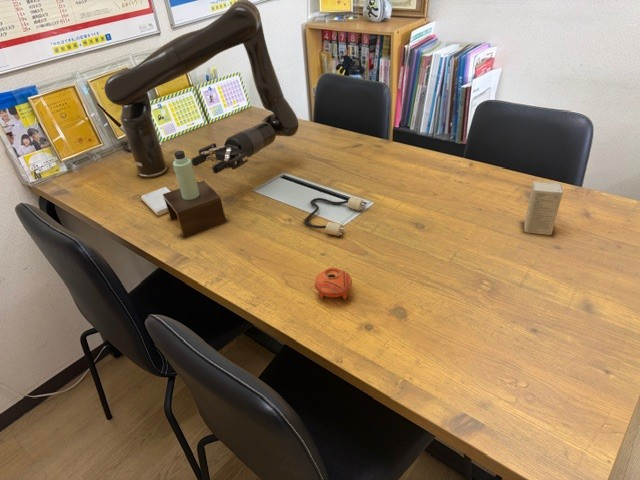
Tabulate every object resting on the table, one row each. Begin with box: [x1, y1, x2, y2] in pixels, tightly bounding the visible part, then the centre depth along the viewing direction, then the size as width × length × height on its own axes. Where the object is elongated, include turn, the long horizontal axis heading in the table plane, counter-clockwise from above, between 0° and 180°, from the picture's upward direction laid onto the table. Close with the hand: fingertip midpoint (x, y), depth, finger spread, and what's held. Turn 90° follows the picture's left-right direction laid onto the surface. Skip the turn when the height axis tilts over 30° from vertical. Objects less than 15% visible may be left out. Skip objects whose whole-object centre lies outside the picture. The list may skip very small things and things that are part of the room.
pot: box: [314, 267, 353, 301], centre depth 95 cm, size 8×8×7 cm
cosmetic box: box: [523, 181, 564, 236], centre depth 107 cm, size 6×4×12 cm
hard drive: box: [140, 186, 172, 217], centre depth 134 cm, size 2×8×12 cm
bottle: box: [172, 150, 200, 200], centre depth 117 cm, size 5×5×13 cm
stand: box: [163, 180, 227, 238], centre depth 123 cm, size 12×12×8 cm
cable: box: [304, 196, 366, 237], centre depth 120 cm, size 16×16×4 cm
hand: (202, 166), depth 120 cm, fingers open, 8 cm apart
